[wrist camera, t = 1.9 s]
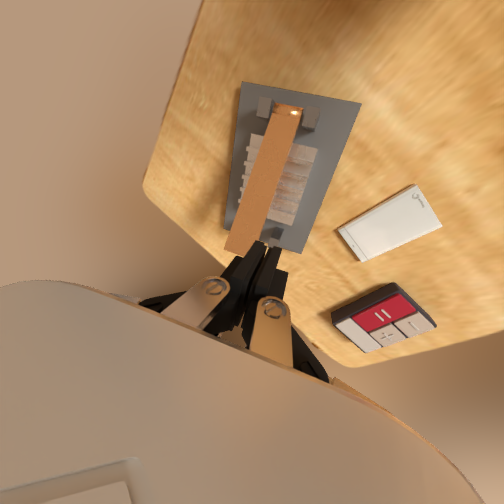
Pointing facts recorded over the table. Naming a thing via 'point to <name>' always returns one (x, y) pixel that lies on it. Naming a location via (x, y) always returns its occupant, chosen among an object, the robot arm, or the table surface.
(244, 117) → the grey mounting plate
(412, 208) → the hard drive
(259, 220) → the retention strap
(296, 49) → the table surface
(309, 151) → the heat sink
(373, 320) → the calculator
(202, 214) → the table surface
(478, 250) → the table surface
